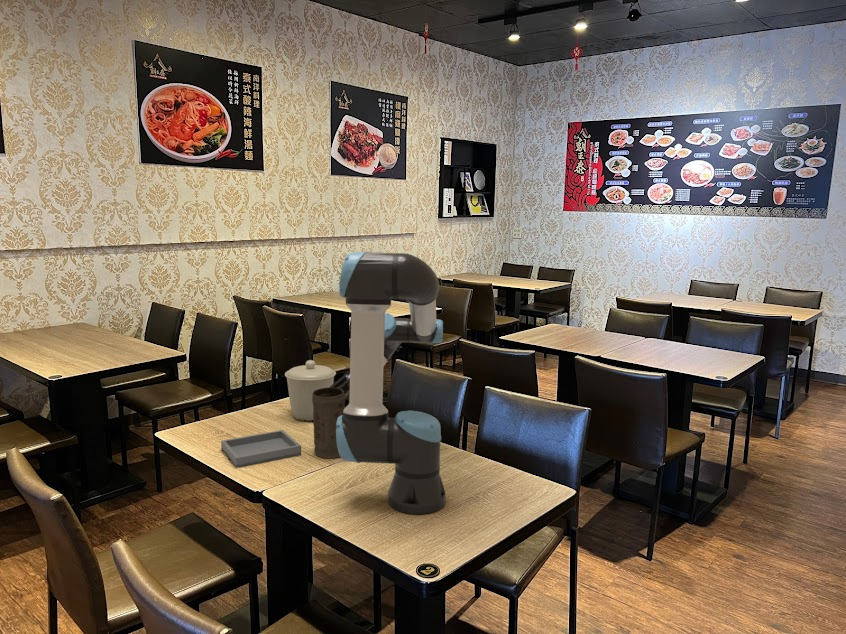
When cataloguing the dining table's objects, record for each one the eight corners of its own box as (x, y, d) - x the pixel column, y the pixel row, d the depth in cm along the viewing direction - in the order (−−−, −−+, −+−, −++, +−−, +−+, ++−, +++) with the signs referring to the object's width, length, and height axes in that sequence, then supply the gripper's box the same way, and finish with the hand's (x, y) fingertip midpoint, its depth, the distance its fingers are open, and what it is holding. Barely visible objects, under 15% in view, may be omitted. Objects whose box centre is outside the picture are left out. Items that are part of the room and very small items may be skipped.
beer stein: (329, 462, 188) (329, 398, 185) (305, 453, 194) (304, 391, 191) (364, 447, 200) (364, 387, 197) (340, 439, 206) (340, 381, 203)
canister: (346, 414, 231) (346, 359, 228) (312, 428, 216) (312, 369, 213) (309, 405, 241) (308, 352, 237) (274, 418, 226) (273, 361, 222)
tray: (301, 454, 193) (301, 445, 193) (236, 468, 183) (236, 458, 182) (282, 438, 207) (282, 429, 206) (221, 449, 196) (221, 440, 195)
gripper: (401, 380, 196) (362, 437, 188) (354, 364, 214) (316, 415, 206) (388, 366, 191) (348, 424, 184) (341, 351, 209) (302, 403, 202)
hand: (331, 419), depth 195 cm, fingers open, 13 cm apart
